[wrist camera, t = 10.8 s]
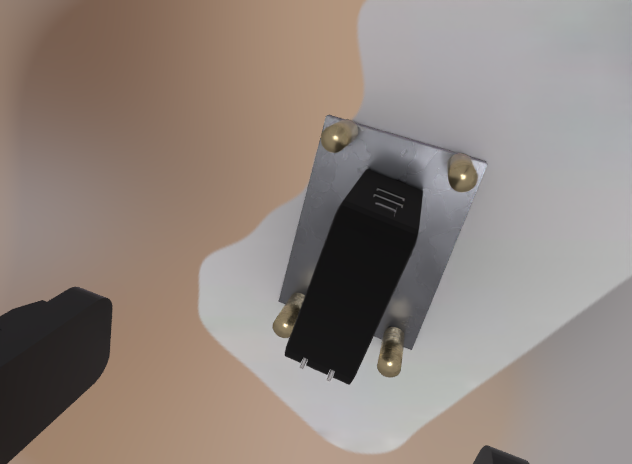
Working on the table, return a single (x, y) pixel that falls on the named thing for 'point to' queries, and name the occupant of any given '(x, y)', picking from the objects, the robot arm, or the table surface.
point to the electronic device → (356, 275)
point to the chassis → (434, 230)
